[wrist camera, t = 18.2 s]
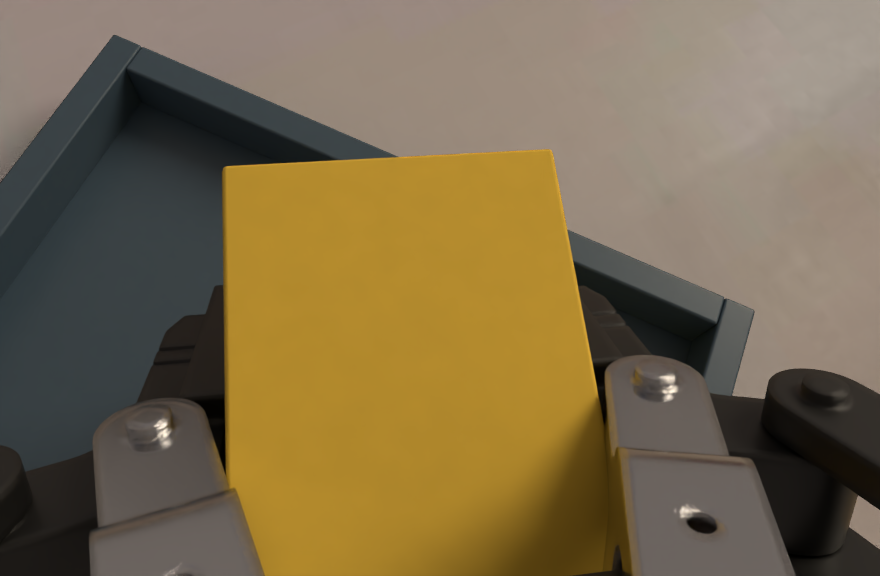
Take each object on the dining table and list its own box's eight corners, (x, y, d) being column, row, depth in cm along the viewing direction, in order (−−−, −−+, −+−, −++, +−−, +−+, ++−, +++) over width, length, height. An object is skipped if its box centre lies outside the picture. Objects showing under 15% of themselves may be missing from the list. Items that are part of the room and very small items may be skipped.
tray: (-205, 554, 16) (-284, 553, 14) (137, 83, 21) (113, 33, 19) (549, 914, 15) (577, 968, 13) (716, 334, 20) (756, 310, 18)
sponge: (303, 618, 16) (227, 687, 7) (291, 351, 18) (221, 164, 9) (502, 592, 16) (645, 629, 8) (469, 336, 18) (553, 146, 10)
